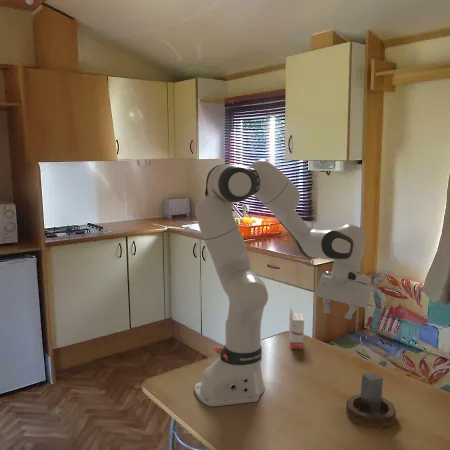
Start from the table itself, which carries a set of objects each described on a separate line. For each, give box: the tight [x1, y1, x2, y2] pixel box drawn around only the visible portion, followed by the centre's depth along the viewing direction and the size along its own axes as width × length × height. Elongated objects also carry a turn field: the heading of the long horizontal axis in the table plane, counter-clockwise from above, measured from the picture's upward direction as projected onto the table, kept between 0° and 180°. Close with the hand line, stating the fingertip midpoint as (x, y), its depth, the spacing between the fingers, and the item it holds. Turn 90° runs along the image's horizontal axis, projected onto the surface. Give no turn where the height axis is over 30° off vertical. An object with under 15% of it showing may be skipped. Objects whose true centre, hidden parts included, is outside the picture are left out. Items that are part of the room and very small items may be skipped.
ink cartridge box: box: [288, 306, 305, 350], centre depth 185 cm, size 9×5×15 cm, turn 178°
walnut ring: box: [345, 393, 397, 430], centre depth 137 cm, size 13×13×3 cm
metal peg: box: [359, 371, 384, 415], centre depth 136 cm, size 4×4×12 cm
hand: (336, 315), depth 155 cm, fingers open, 8 cm apart
